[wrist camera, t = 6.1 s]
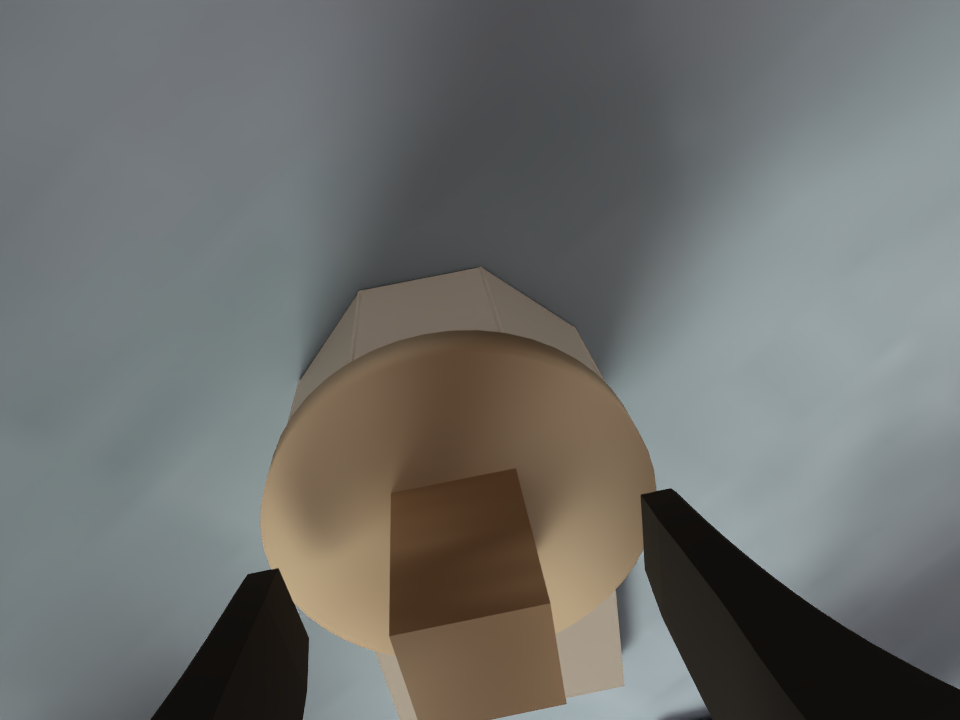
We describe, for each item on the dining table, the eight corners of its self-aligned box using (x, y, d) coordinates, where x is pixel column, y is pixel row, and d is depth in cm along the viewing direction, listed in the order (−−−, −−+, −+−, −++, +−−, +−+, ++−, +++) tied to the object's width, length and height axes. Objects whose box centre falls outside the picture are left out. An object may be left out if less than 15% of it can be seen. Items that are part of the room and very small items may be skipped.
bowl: (567, 249, 17) (611, 313, 13) (591, 480, 20) (631, 579, 17) (272, 306, 17) (238, 387, 13) (349, 529, 20) (339, 639, 17)
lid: (631, 293, 13) (732, 417, 9) (648, 589, 17) (723, 763, 13) (211, 375, 13) (131, 538, 9) (327, 654, 17) (307, 851, 13)
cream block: (600, 497, 21) (609, 518, 20) (616, 661, 25) (624, 685, 24) (348, 548, 21) (346, 572, 20) (404, 705, 25) (404, 731, 24)
